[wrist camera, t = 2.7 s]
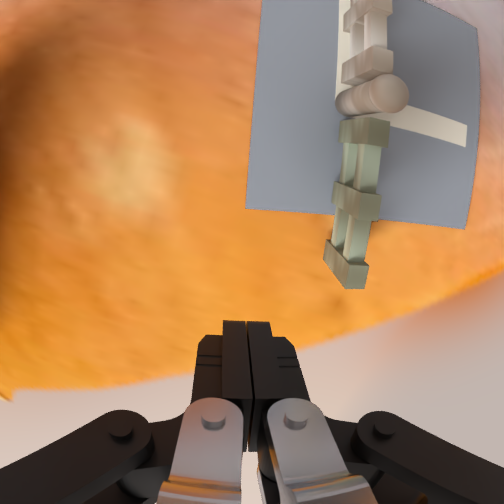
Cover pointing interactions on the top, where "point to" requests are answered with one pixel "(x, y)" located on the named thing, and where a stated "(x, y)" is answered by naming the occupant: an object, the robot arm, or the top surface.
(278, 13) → the card
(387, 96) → the fence base
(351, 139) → the hinged panel
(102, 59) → the top surface
